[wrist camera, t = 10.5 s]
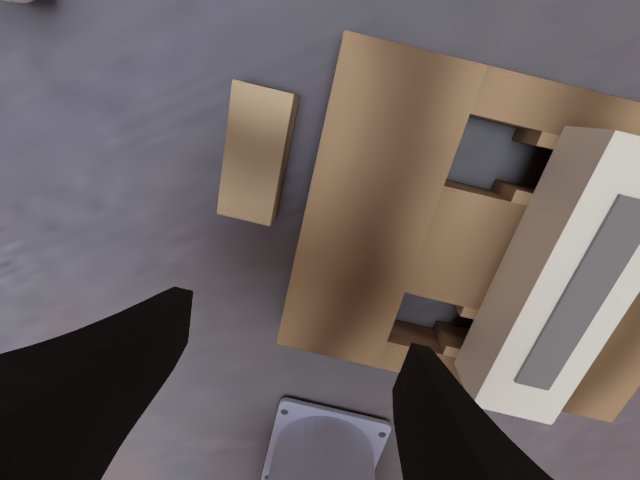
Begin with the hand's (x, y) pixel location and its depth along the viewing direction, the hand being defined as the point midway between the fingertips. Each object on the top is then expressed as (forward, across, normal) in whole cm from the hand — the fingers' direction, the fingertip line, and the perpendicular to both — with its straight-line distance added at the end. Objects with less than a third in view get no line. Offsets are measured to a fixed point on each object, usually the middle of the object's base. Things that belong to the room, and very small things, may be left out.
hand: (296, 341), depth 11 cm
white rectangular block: (+9, -11, -2) cm, 14 cm away
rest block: (+9, +4, -4) cm, 11 cm away
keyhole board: (+9, -9, -2) cm, 13 cm away
